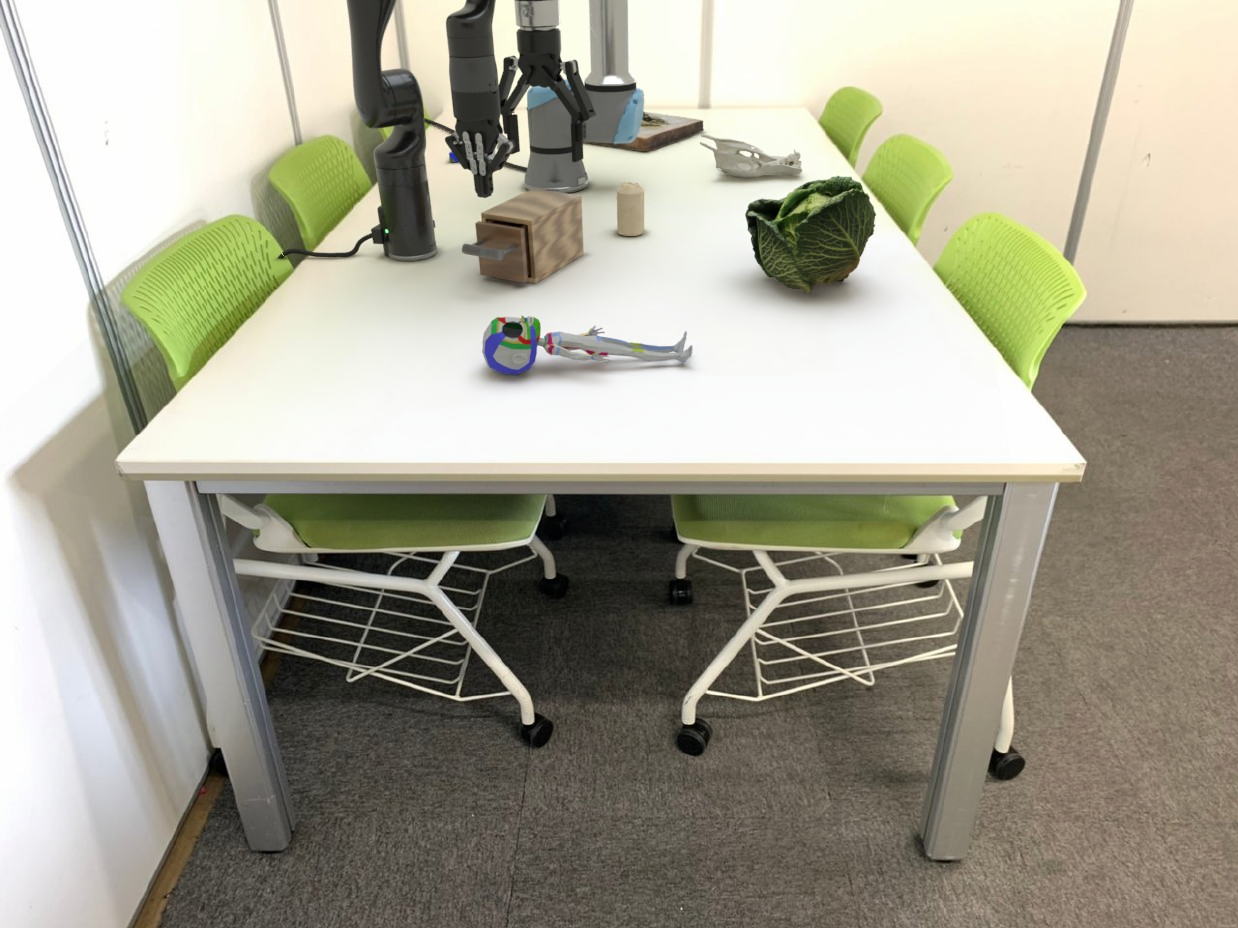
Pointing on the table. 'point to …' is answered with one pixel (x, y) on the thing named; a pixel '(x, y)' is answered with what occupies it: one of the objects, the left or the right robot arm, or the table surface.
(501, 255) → the drawer
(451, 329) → the table surface
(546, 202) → the cabinet
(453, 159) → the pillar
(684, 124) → the plaque
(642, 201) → the candle
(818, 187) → the vegetable
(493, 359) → the toy
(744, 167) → the anatomical model
